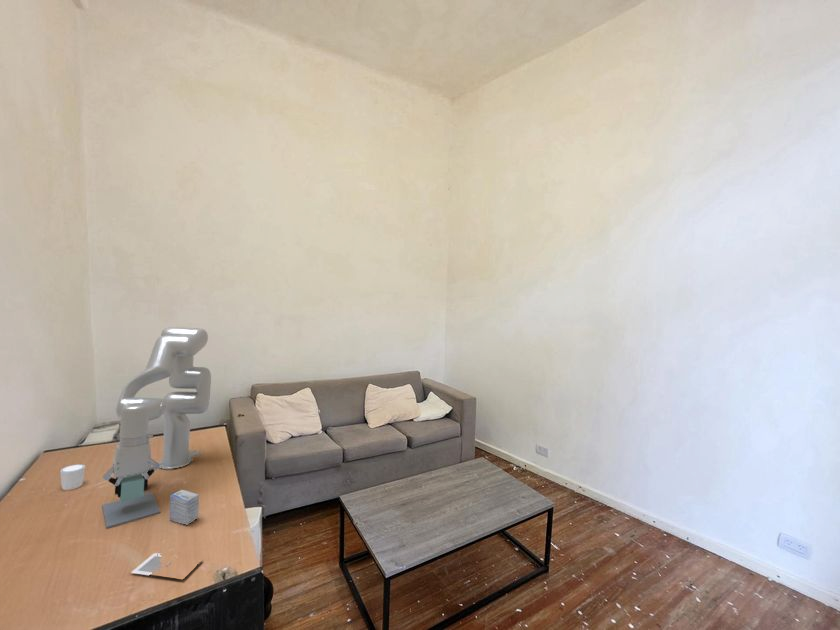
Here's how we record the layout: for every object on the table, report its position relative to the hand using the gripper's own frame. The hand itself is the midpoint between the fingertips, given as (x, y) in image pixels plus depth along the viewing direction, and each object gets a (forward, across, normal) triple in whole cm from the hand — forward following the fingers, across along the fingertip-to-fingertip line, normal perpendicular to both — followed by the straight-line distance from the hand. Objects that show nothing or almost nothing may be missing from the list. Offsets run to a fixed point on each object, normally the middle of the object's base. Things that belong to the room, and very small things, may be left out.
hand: (131, 492), depth 126 cm
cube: (+1, 0, 0) cm, 1 cm away
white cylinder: (+6, +14, -31) cm, 35 cm away
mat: (+6, 0, 0) cm, 6 cm away
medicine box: (+7, -12, +17) cm, 22 cm away
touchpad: (+7, -4, +39) cm, 40 cm away
